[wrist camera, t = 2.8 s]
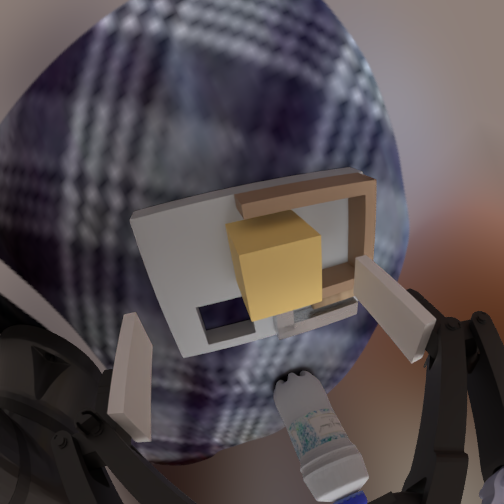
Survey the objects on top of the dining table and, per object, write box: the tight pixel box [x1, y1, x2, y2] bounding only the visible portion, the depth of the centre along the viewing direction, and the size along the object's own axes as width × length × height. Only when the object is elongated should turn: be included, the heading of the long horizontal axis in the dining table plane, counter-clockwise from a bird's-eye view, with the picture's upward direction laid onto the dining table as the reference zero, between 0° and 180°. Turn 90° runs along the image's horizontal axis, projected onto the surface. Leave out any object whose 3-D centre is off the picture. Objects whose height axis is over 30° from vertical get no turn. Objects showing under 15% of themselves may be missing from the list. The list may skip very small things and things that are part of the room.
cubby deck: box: [130, 167, 376, 358], centre depth 22 cm, size 18×14×4 cm
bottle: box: [273, 371, 369, 504], centre depth 25 cm, size 7×7×20 cm
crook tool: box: [273, 297, 358, 340], centre depth 25 cm, size 8×4×2 cm, turn 98°
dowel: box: [311, 288, 354, 309], centre depth 25 cm, size 5×2×2 cm, turn 98°
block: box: [225, 210, 322, 322], centre depth 19 cm, size 5×5×5 cm
